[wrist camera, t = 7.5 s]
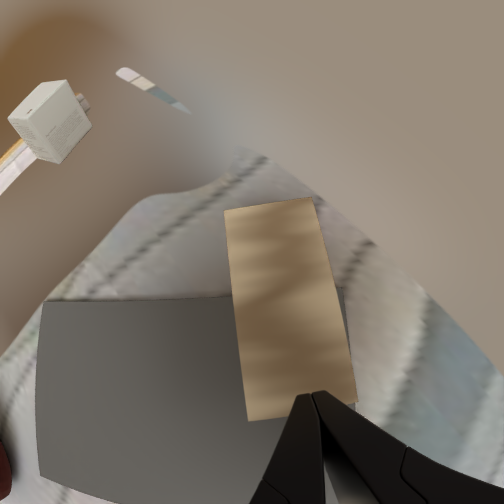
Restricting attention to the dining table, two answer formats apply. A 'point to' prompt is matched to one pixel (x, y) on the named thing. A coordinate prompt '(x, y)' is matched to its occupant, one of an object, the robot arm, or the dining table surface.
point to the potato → (4, 474)
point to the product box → (51, 121)
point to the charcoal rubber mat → (150, 403)
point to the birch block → (285, 308)
